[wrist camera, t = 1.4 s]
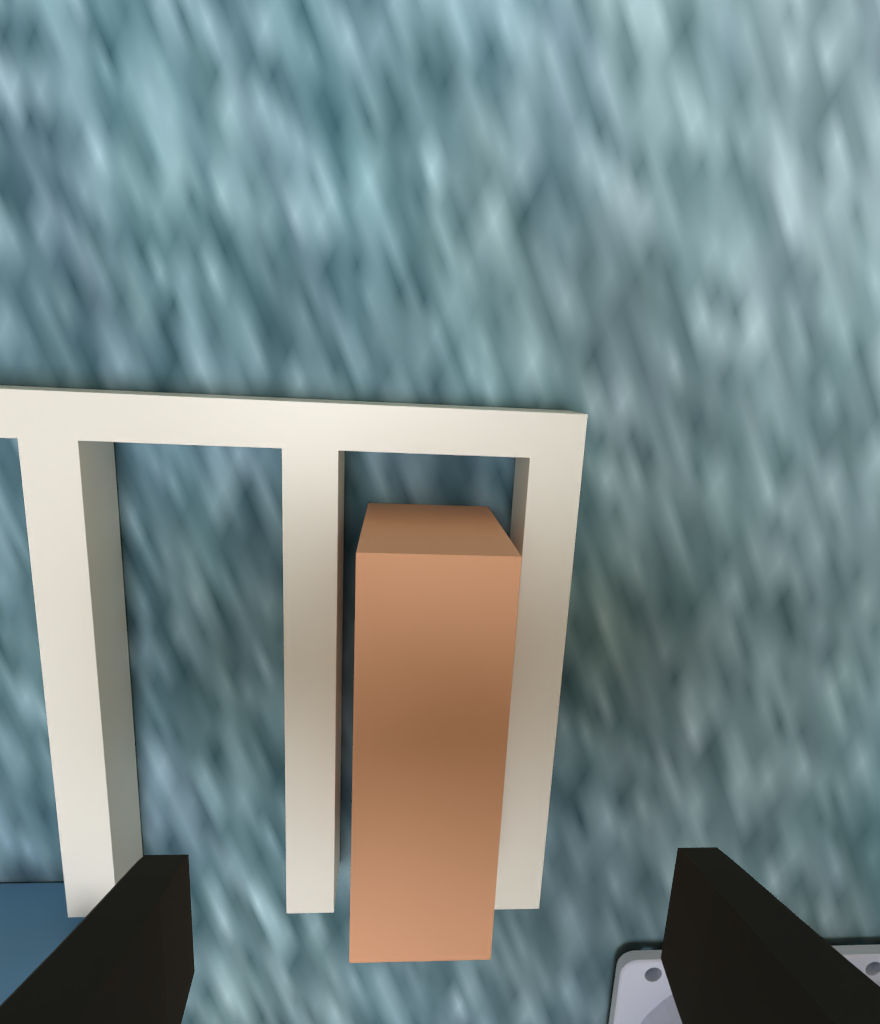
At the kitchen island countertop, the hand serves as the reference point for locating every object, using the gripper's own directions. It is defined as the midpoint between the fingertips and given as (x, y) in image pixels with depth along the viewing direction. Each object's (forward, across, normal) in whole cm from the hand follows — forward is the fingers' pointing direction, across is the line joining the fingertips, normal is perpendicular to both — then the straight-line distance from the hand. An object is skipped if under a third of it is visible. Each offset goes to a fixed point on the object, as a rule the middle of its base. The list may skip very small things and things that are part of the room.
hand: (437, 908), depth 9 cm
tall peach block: (+8, 0, 0) cm, 8 cm away
